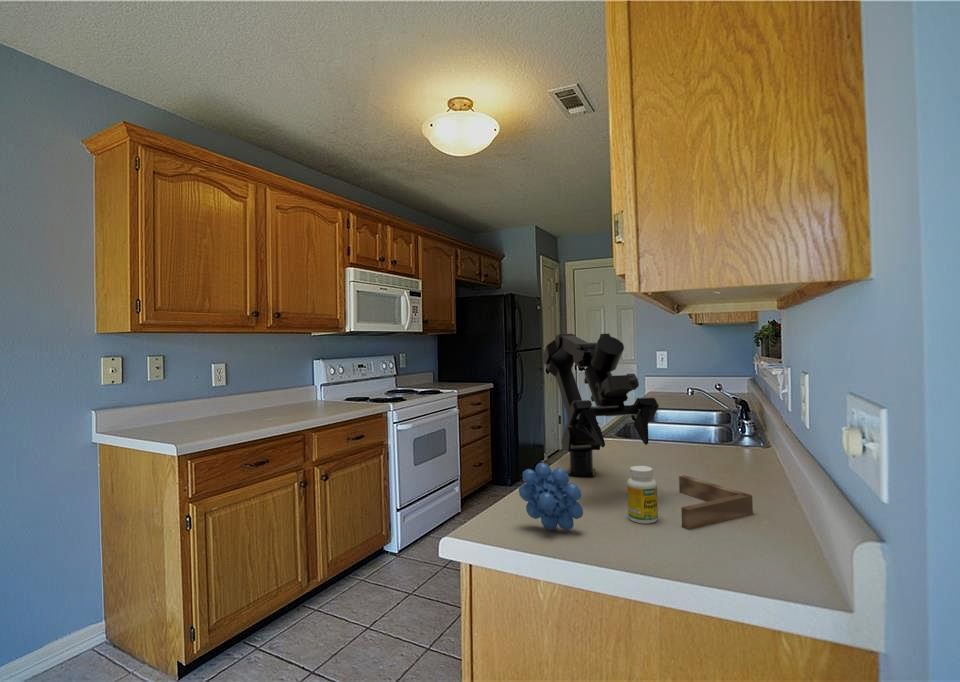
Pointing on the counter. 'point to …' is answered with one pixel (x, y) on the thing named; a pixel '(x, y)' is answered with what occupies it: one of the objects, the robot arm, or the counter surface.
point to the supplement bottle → (642, 495)
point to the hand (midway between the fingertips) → (625, 444)
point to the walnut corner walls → (712, 503)
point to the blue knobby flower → (551, 497)
